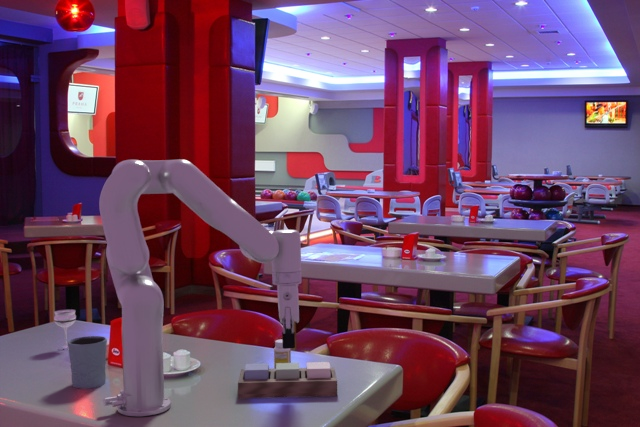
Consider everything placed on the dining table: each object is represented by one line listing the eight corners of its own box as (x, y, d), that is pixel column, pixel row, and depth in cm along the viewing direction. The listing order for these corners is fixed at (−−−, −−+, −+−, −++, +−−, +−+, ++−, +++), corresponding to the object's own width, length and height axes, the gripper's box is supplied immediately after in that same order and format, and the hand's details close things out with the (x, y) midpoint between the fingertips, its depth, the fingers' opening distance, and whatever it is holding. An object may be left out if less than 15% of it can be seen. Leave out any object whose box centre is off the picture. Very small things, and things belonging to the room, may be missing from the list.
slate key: (244, 383, 184) (244, 370, 184) (246, 376, 190) (245, 363, 190) (268, 383, 184) (268, 369, 184) (268, 376, 190) (268, 363, 190)
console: (238, 398, 181) (237, 382, 181) (241, 383, 193) (241, 369, 193) (337, 396, 182) (337, 380, 182) (334, 381, 194) (334, 367, 194)
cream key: (307, 382, 184) (307, 368, 184) (306, 375, 190) (306, 362, 190) (330, 381, 185) (330, 368, 184) (329, 375, 191) (329, 362, 190)
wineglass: (71, 344, 238) (70, 308, 237) (80, 348, 233) (79, 311, 232) (51, 348, 233) (50, 311, 232) (60, 351, 228) (58, 314, 227)
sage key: (276, 383, 184) (275, 369, 184) (276, 376, 190) (276, 363, 190) (299, 382, 184) (299, 369, 184) (299, 375, 190) (299, 362, 190)
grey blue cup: (81, 391, 187) (79, 346, 187) (61, 384, 194) (60, 340, 193) (115, 383, 195) (114, 339, 194) (95, 375, 202) (94, 333, 201)
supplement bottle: (282, 366, 209) (281, 338, 209) (294, 369, 206) (294, 340, 206) (270, 370, 206) (270, 341, 205) (283, 373, 203) (282, 343, 202)
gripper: (301, 282, 178) (303, 354, 180) (301, 272, 193) (302, 340, 194) (271, 283, 178) (273, 355, 179) (273, 273, 193) (275, 341, 194)
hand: (288, 347), depth 187 cm, fingers closed
